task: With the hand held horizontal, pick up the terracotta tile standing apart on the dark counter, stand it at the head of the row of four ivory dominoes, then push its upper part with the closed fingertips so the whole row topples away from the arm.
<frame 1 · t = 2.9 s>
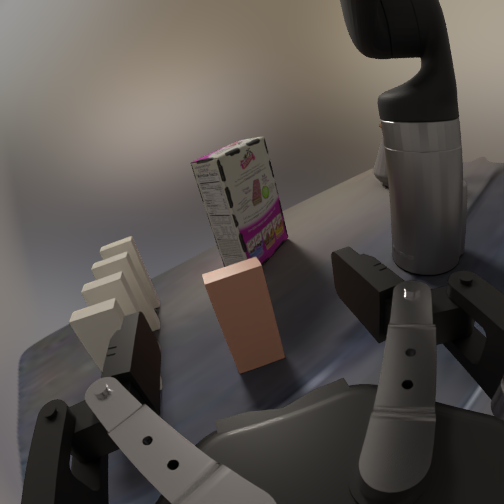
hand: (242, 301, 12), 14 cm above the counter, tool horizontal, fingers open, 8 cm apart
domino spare: (260, 360, 28), on the counter
coffee pot: (411, 177, 63), on the counter
candy bar box: (258, 256, 47), on the counter
domino 1: (142, 388, 27), on the counter
domino 2: (142, 356, 32), on the counter
domino 4: (145, 308, 41), on the counter
domino 3: (144, 330, 36), on the counter
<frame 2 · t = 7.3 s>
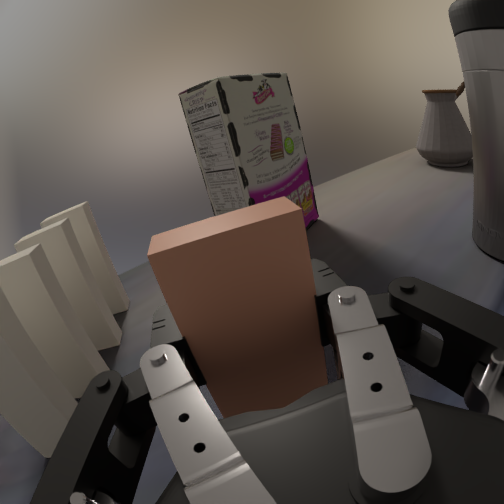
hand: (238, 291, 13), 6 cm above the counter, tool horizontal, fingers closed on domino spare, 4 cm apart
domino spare: (281, 420, 13), on the counter, touching gripper
coffee pot: (458, 158, 47), on the counter
candy bar box: (277, 241, 32), on the counter
domino 1: (73, 446, 13), on the counter
domino 2: (86, 388, 18), on the counter
domino 4: (108, 311, 27), on the counter
domino 3: (97, 344, 22), on the counter
when the fingers open (7 cm above the counter, at t = 12.4 s): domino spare stays where it is, on the counter.
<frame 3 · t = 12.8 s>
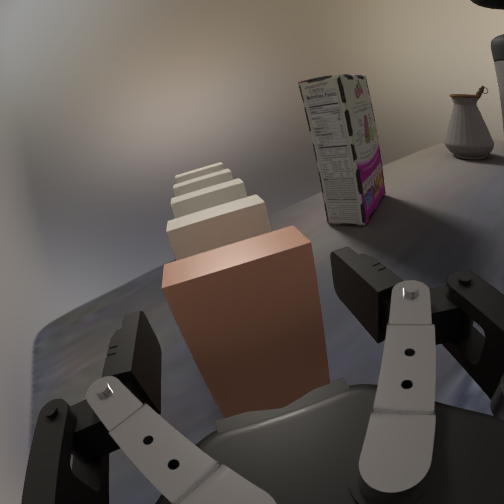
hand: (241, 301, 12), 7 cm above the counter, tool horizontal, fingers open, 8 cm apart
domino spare: (286, 432, 14), on the counter
coffee pot: (477, 153, 52), on the counter
candy bar box: (358, 210, 37), on the counter
domino 1: (261, 367, 18), on the counter
domino 2: (245, 322, 23), on the counter
domino 4: (226, 265, 32), on the counter
domino 3: (234, 289, 27), on the counter
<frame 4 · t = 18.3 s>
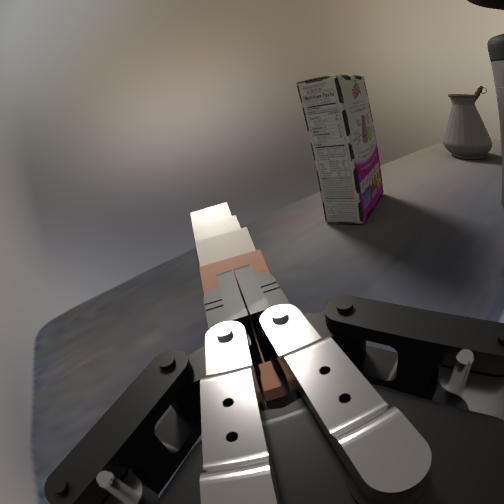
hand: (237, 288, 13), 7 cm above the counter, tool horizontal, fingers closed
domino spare: (271, 394, 15), point 1 cm above the counter, tilted 72°, touching domino 1
coffee pot: (475, 152, 53), on the counter
candy bar box: (356, 209, 38), on the counter
domino 1: (252, 337, 20), point 1 cm above the counter, tilted 72°, touching domino 2, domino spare
domino 2: (239, 300, 24), point 1 cm above the counter, tilted 73°, touching domino 1, domino 3
domino 3: (225, 268, 29), point 1 cm above the counter, tilted 73°, touching domino 2
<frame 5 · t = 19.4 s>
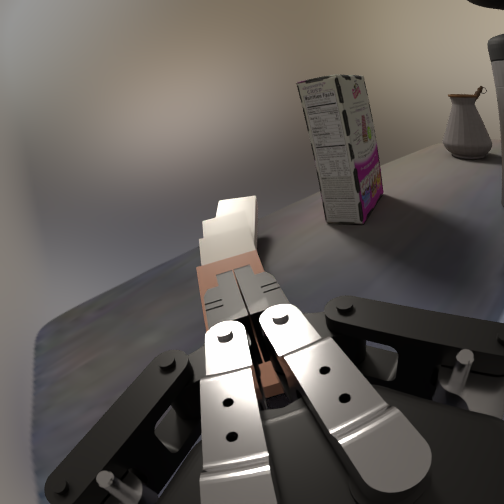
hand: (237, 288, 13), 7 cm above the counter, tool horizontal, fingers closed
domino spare: (263, 393, 15), point 1 cm above the counter, tilted 72°, touching domino 1
coffee pot: (475, 152, 53), on the counter
candy bar box: (356, 209, 38), on the counter
domino 1: (245, 335, 20), point 1 cm above the counter, tilted 72°, touching domino 2, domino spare
domino 2: (238, 295, 25), point 1 cm above the counter, tilted 72°, touching domino 1, domino 3
domino 3: (232, 261, 30), point 1 cm above the counter, tilted 74°, touching domino 2
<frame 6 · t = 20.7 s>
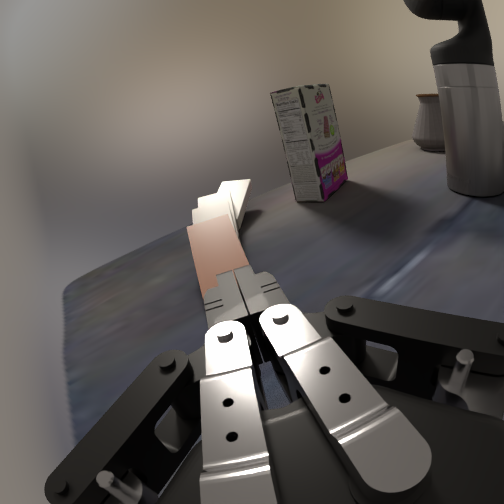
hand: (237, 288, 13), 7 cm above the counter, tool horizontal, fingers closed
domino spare: (231, 296, 25), point 1 cm above the counter, tilted 73°, touching domino 1
coffee pot: (444, 145, 62), on the counter
candy bar box: (323, 191, 47), on the counter
domino 1: (220, 267, 30), point 1 cm above the counter, tilted 72°, touching domino 2, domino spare
domino 2: (220, 246, 35), point 1 cm above the counter, tilted 72°, touching domino 1, domino 3
domino 3: (221, 225, 40), point 1 cm above the counter, tilted 75°, touching domino 2, domino 4
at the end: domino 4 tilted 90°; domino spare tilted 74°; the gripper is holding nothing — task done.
